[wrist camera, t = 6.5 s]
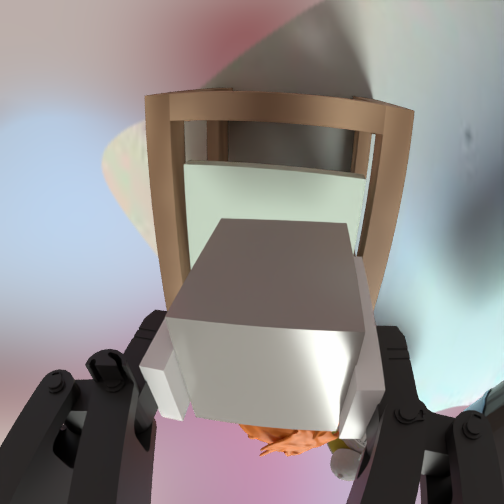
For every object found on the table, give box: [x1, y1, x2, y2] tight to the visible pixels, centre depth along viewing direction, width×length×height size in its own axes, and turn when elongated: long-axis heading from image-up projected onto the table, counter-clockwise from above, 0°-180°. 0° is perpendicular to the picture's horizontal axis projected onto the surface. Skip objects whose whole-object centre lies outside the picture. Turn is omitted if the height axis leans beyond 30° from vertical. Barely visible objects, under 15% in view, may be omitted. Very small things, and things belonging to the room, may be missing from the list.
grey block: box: [165, 218, 365, 431], centre depth 11 cm, size 5×5×6 cm
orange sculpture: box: [239, 423, 339, 456], centre depth 28 cm, size 11×11×18 cm
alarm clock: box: [327, 425, 367, 481], centre depth 34 cm, size 12×7×15 cm, turn 83°
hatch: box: [184, 160, 366, 269], centre depth 20 cm, size 10×10×1 cm
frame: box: [145, 88, 414, 311], centre depth 24 cm, size 14×16×12 cm
